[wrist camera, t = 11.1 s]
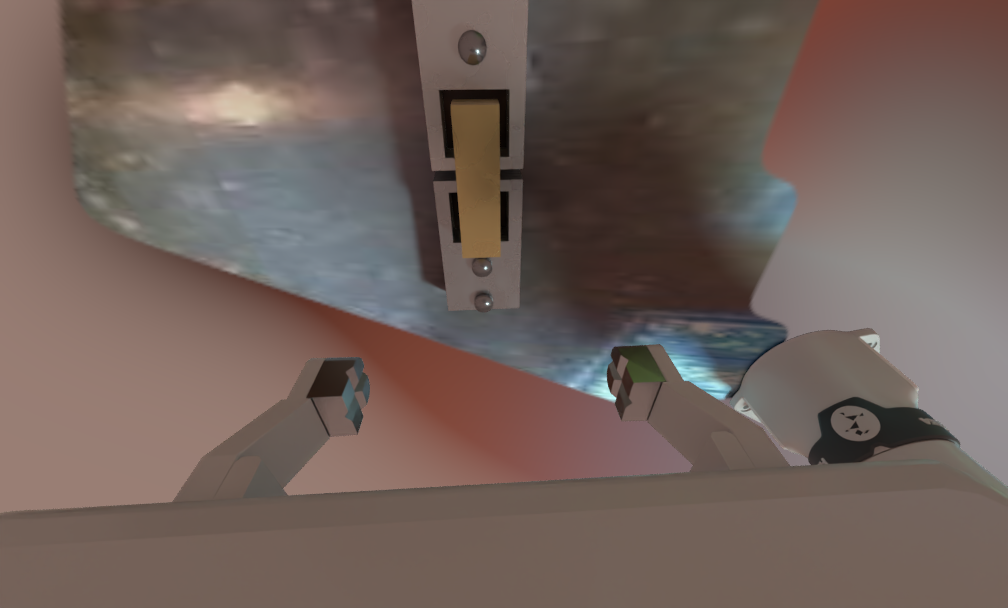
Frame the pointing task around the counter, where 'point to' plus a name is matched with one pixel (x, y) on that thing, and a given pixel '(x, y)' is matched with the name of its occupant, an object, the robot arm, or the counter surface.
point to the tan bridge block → (477, 175)
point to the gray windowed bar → (453, 66)
